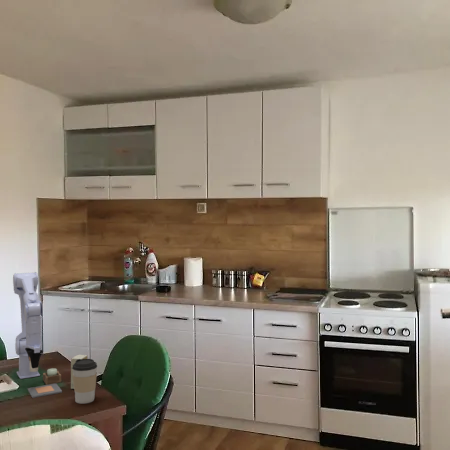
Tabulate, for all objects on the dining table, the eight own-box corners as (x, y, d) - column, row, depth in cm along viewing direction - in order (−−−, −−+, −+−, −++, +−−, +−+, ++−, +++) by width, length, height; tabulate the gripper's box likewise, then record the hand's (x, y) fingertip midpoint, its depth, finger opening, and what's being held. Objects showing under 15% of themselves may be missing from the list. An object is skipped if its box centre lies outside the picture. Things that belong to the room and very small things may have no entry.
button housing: (43, 380, 209) (43, 373, 209) (57, 377, 212) (57, 370, 212) (46, 384, 204) (46, 377, 204) (61, 382, 207) (61, 375, 207)
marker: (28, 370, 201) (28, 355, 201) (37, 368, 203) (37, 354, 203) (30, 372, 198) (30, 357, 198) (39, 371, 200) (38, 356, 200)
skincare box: (80, 390, 199) (80, 359, 198) (70, 389, 200) (70, 358, 199) (88, 384, 205) (88, 354, 205) (78, 383, 206) (78, 354, 205)
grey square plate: (27, 389, 199) (27, 387, 199) (56, 384, 204) (56, 383, 204) (32, 397, 190) (32, 396, 190) (62, 392, 196) (62, 390, 196)
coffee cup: (102, 397, 191) (102, 358, 191) (88, 406, 183) (88, 365, 182) (81, 394, 194) (81, 355, 194) (67, 402, 186) (67, 362, 185)
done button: (46, 376, 209) (46, 369, 209) (55, 374, 211) (55, 367, 211) (48, 379, 206) (48, 371, 206) (57, 377, 208) (57, 370, 208)
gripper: (20, 330, 204) (20, 363, 205) (26, 337, 192) (26, 373, 192) (38, 328, 208) (38, 360, 208) (45, 335, 196) (45, 370, 196)
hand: (34, 366), depth 201 cm, fingers closed on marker, 3 cm apart
